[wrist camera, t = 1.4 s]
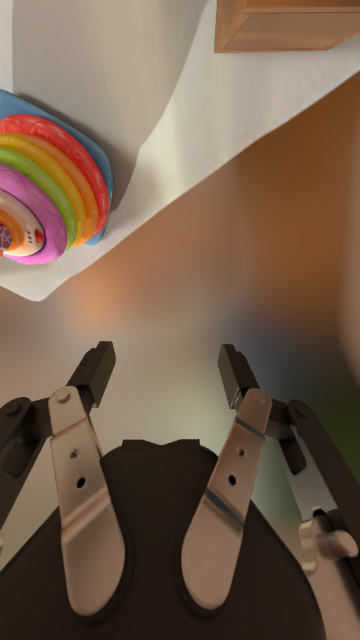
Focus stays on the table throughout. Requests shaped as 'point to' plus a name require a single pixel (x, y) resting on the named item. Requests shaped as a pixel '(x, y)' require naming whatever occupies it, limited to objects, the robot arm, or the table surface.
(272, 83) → the table surface
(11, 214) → the stacking toy
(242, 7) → the cabinet
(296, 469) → the robot arm
